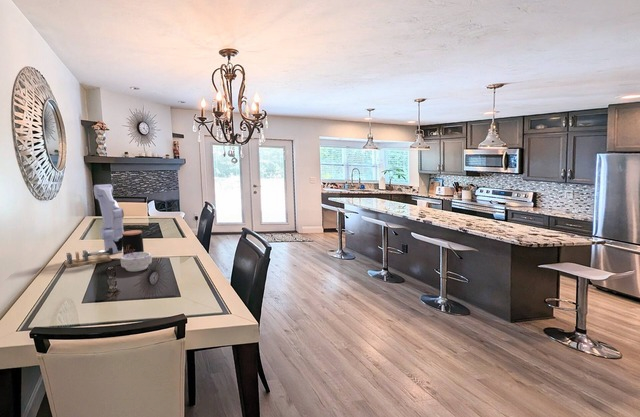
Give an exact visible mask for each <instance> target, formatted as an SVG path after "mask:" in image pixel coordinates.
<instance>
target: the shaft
mask: <svg viewBox="0 0 640 417" xmlns="http://www.w3.org/2000/svg"><path fill="white" fill-rule="evenodd" d="M107 253H109V254H108V256H109V255H110V256H111V255H113V249H112V248H108V250H105V249H104V250H99V251H93V252H88V257H95V256H101V255H106V254H107ZM81 257H82V258H83V257H84V254H83V253H82V254H81Z"/></svg>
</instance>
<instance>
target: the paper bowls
mask: <svg viewBox="0 0 640 417" xmlns="http://www.w3.org/2000/svg"><path fill="white" fill-rule="evenodd" d="M119 259H120V266H121V267H122V268H125V270H126V271H128V272H133V273H134V272H141V271H144V270H146V269H147V268H148V266H149V265H150V264H152V263H153V262H152V259H153V258H152V253H150V252H147V251H144V252H135V253H129V254H125V255H123V254H122V255H121V256H120V257H119Z"/></svg>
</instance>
